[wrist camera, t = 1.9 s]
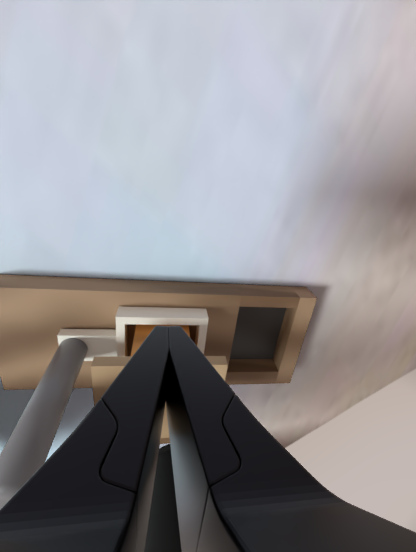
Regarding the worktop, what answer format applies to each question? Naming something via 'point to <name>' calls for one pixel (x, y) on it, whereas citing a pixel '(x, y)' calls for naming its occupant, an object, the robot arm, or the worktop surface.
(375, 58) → the worktop surface
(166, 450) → the aerosol can
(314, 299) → the tan piece
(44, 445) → the sled
